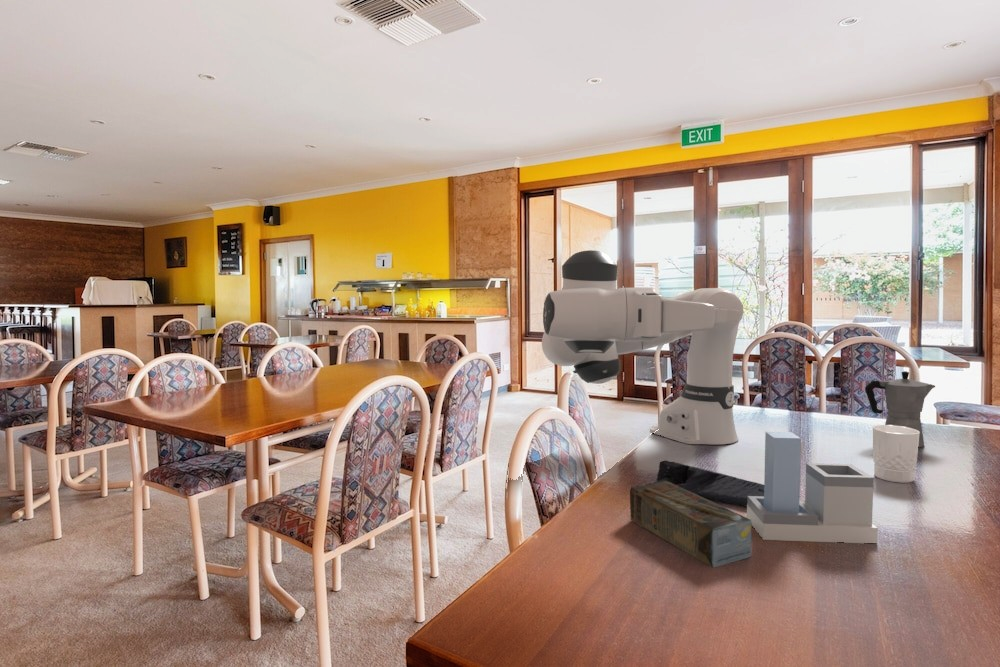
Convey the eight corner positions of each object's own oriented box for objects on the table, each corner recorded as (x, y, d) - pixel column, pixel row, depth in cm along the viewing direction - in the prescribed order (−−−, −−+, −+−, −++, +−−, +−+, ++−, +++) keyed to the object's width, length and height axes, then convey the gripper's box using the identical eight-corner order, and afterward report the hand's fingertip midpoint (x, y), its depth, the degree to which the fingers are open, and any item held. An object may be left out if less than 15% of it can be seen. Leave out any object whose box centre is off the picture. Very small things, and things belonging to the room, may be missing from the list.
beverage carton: (711, 570, 81) (712, 524, 80) (627, 522, 98) (627, 483, 98) (753, 559, 84) (754, 514, 84) (664, 514, 102) (664, 476, 101)
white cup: (925, 485, 114) (927, 434, 113) (880, 482, 116) (882, 433, 115) (906, 472, 122) (908, 425, 121) (864, 470, 123) (866, 424, 123)
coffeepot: (922, 439, 148) (925, 369, 147) (942, 449, 139) (946, 374, 138) (855, 437, 151) (858, 368, 150) (871, 446, 142) (874, 373, 141)
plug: (772, 518, 92) (774, 437, 91) (763, 509, 96) (765, 431, 95) (802, 519, 91) (805, 438, 90) (793, 510, 95) (795, 432, 94)
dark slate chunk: (754, 518, 100) (754, 491, 100) (644, 487, 116) (644, 464, 116) (789, 496, 110) (790, 471, 110) (684, 470, 126) (684, 449, 126)
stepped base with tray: (763, 539, 90) (764, 476, 89) (746, 518, 98) (747, 460, 98) (877, 543, 88) (879, 479, 87) (850, 522, 97) (852, 462, 96)
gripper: (633, 329, 106) (711, 330, 105) (651, 338, 86) (748, 338, 85) (634, 295, 106) (712, 294, 105) (652, 295, 86) (749, 295, 84)
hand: (728, 314), depth 94 cm, fingers open, 8 cm apart
